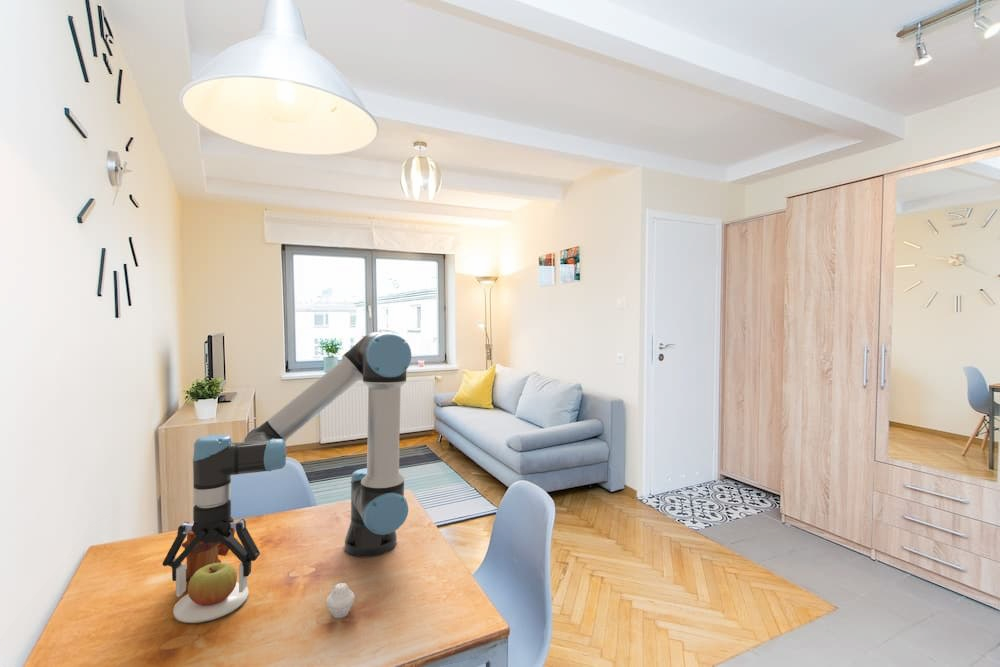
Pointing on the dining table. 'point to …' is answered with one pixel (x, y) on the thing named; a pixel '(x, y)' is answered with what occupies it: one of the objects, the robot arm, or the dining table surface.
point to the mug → (203, 554)
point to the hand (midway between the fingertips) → (212, 591)
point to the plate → (208, 607)
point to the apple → (212, 583)
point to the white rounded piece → (340, 600)
